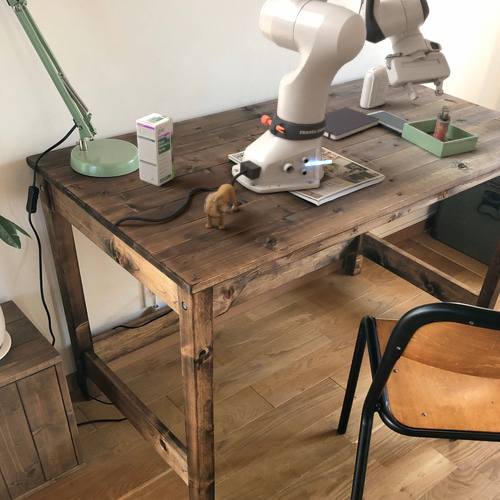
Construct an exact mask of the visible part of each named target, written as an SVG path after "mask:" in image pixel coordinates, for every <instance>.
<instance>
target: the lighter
mask: <svg viewBox="0 0 500 500" xmlns="http://www.w3.org/2000/svg"><path fill="white" fill-rule="evenodd" d="M436 118H437V123H436V127H435V131H434V132H433V135H431V136H432V137H434V138H436V139H438V140H440V141H442V142H445V140H446V137H445V136H446V133H447V131H448V128H449V124H450V123H451V117H450V109H449V108H448V106H447V105H443V106H442V108H441V112H438V113H437V117H436Z"/></svg>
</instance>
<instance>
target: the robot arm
mask: <svg viewBox="0 0 500 500" xmlns="http://www.w3.org/2000/svg"><path fill="white" fill-rule="evenodd" d="M429 15H430V7H429V4H428V1H427V0H360V7H359V10H358V13H357V12H356V11H353V10H352V9H350V8H348V7H345V6H344V5H341V4H336V3H333V2H328V0H266V1H265V2H264V4H262V7H261V8H260V12H259V17H258V24H259V30H260V33H261V34H262V36H263V37H264V38H265V39H267V40H268V41H270V42H271V43H273V44H275V45H276V46H277V47H280V48H283V49H286V50H289V51H293V52H296V53H300V59H299V64H298V66H297V68H296V69H293V70H291V71H289V72H288V73H286V74H285V75H284V76H283V77H282V78H281V79H280V82H279V86H278V96H277V98H278V99H277V106H276V107H277V108H276V111H275V113H274V116H273V117H272V118H271V117H269V116H268V115H267V114H264V115H262V117H261V119H260V122H261V123H262V124H263V125H264V126H267V127H268V129H267V130H266V131H265V132H264V133H262V135H260V136H259V137H258V138H257V139H255V140H254V141H253V142H252V143H250V144H249V145H248V146H247V147H246V148H245V149H244V153H243V156H242V159H241V161H240V162H239V163H238V164H235V165H232V169H231V174H232V178H231V180H230V184H231V185H232V186H233V187H234V186H235V182H238V183H239V184H240V185H242V186H243V187H244V188H246V189H248V190H250V191H252V192H255V193H258V194H269V193H278V192H288V191H298V190H309V189H316V188H319V187H320V183H321V180H322V179H323V178H324V177H325V171H324V166H323V165H326V164H332V159H327V160H323V139H324V138H323V137H324V136H323V135H324V133H325V127H326V117H325V114H326V111H327V104H328V99H329V94H330V89H331V86H332V83H333V81H334V79H335V77H336V75H337V74H338V73H339V71H340V70H341V68H342V67H344V66H345V65H347V64H348V63H350V62H352V61H354V60H355V59H356V58H357V57H358V55H359V54H360V53H361V52H362V50H363V48H364V46H365V44H366V42H368V43H371V44H374V45H376V44H379V43H380V42H383V41H384V40H387V39H389V40H390V42H391V48H392V52H393V53H389V54H387V55H386V56H385V58H384V64H385V66H386V69H387V74H388V78H389V85H390V87H392V88H394V89H395V88H402V89H403V91H404V92H405V93H406V94H407V95H408V96H409V97H410V100H411V101H416V100H417V99H419V98H420V95H419V92H418V91H416V90H415V89H414V88H413V87H412V86H418V85H424V84H425V85H426V84H432V83H433V85H434V86H435V90H434V95H435V97H442V96H443V95H444V94H445V92H444V89H443V87H444V81H446V80H447V79H448V78H449V77H451V68H450V65H449V63H448V60H447V58H446V56H445V54H444V53H443V52H442V49H443V48H442V44H441V43H439V42H436V41H433V40H430V39H427V38H425V37H424V35H423V32H421V30H420V27H422V26H423V25H424V24H425V22H426V20H427V19H428V16H429ZM218 190H219V189H216V188H211V187H206V186H196V187H193V188H191V189H189V191H188V192H187V194H186V197H185V200H184V202H183V203H182V204H181V205H180V206H179V207H178V208H177V209H176V210H174V211H173V212H171V213H170V214H168V215H166V216H162V217H157V218H155V217H154V218H151V217H145V216H138V215H128V216H124V217H123V216H122V217H121V218H119V219H117V220H116V221H115V222H114V223H113V224H112V227H118V226H119V225H120V224H121V223H123V222H126V221H141V222H147V223H161V222H164V221H167V220H171V219H172V218H174V217H176V216H177V215H178V214H179V213H181V211H183V210H184V209H185V208H186V207H187V205H188V204H189V201H190V197H191V195H192V194H193V193H195V192H198V191H206V192H214V191H215V192H217V191H218Z"/></svg>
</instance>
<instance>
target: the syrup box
mask: <svg viewBox="0 0 500 500" xmlns="http://www.w3.org/2000/svg"><path fill="white" fill-rule="evenodd" d="M135 124H136V125H135V127H136V139H137V141H136V142H137V154H138V157H137V158H138V169H139V179H140V180H141V181H142V182H145V183H148V184H151V185H153V186H157V187H161V185H163V184H166V183H167V182H169V181H170V180H173V179H174V178H175V153H174V150H175V149H174V122H173V118H171V117H169V116H167V115H163V114H159V113H154V112H153V113H151V114H149V115H146V116H144V117H142V118H139V119H136V121H135Z"/></svg>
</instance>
